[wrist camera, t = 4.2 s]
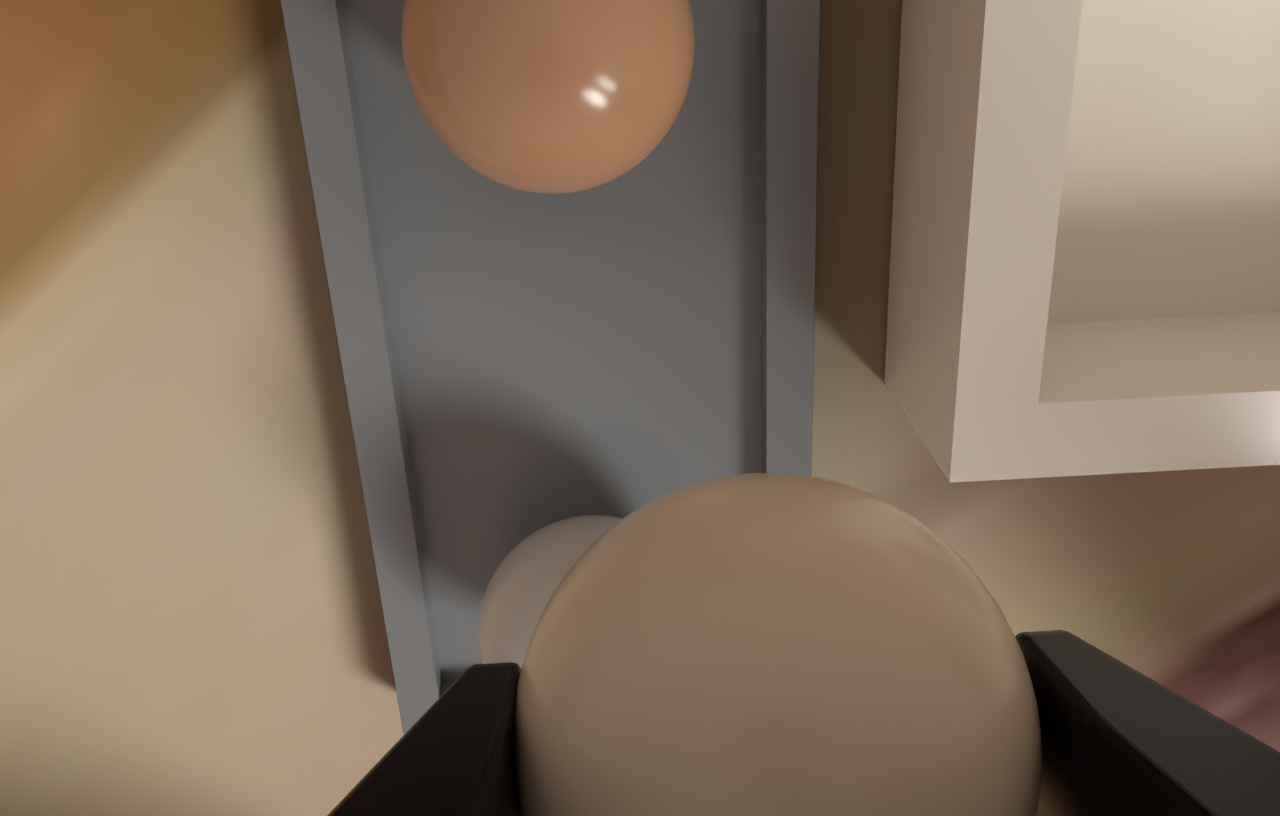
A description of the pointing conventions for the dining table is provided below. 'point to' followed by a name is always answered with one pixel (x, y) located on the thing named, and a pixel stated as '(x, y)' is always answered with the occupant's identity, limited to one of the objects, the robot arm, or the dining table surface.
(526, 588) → the glossy white ball
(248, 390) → the dining table surface
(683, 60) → the orange tan ball
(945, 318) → the stoneware dish
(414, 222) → the slate tray
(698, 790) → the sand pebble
